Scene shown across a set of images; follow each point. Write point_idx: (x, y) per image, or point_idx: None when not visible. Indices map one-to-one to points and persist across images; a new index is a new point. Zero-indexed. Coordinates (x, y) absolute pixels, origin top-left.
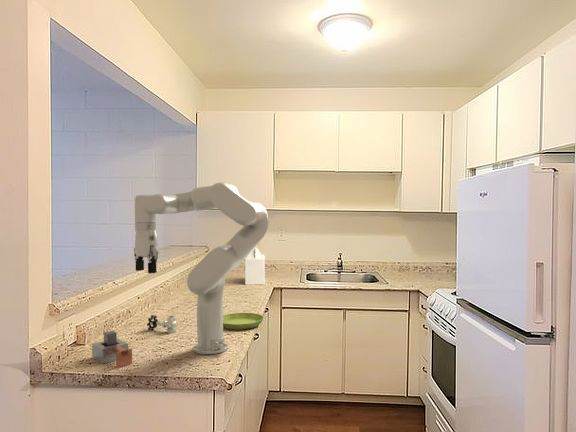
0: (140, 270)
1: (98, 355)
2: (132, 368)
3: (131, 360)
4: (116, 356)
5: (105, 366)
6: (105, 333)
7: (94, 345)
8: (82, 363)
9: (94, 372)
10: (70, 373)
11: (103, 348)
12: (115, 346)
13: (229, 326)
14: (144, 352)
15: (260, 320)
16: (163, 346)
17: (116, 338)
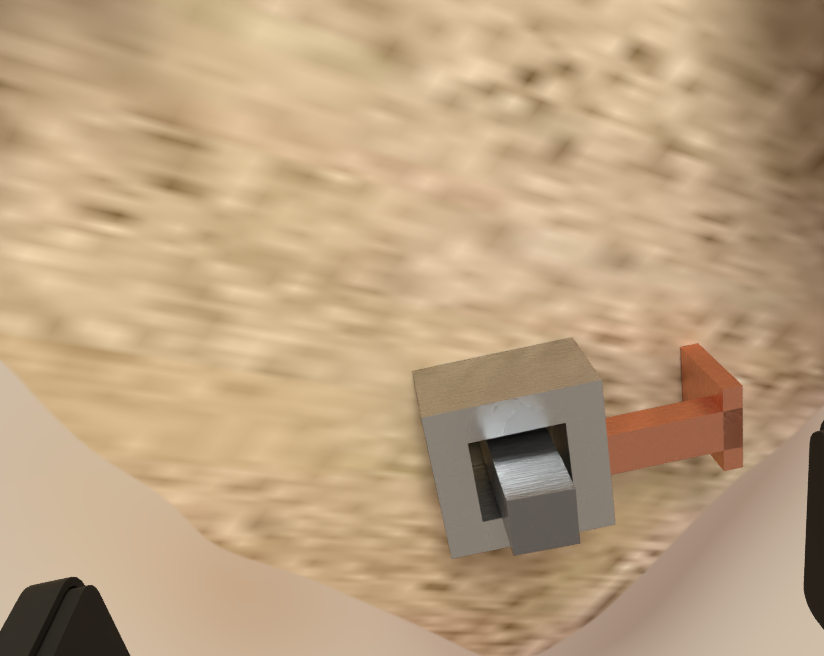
0: (113, 648)
1: None
2: (768, 357)
3: (707, 355)
4: (714, 455)
5: None
6: (544, 548)
7: (490, 548)
8: (504, 548)
9: (680, 516)
10: (614, 599)
11: (599, 518)
12: (609, 456)
13: None
14: (538, 225)
15: None
16: (491, 59)
17: (562, 462)
